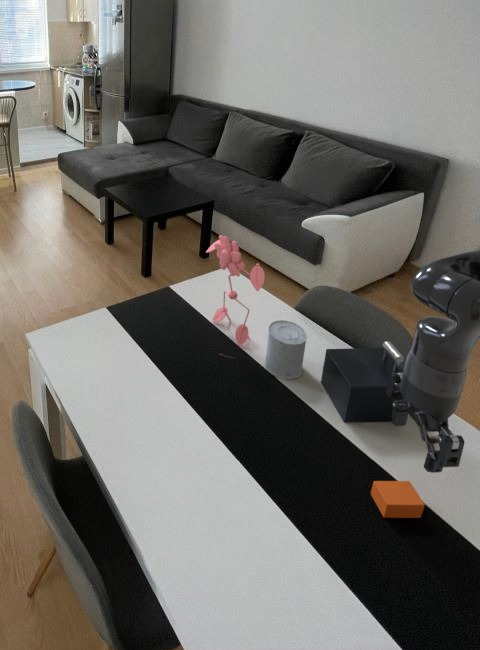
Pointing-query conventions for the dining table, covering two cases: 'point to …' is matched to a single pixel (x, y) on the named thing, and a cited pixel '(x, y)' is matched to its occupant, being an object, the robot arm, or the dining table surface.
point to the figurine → (233, 262)
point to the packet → (397, 499)
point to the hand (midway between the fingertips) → (413, 445)
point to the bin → (355, 398)
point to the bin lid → (367, 365)
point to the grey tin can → (285, 349)
